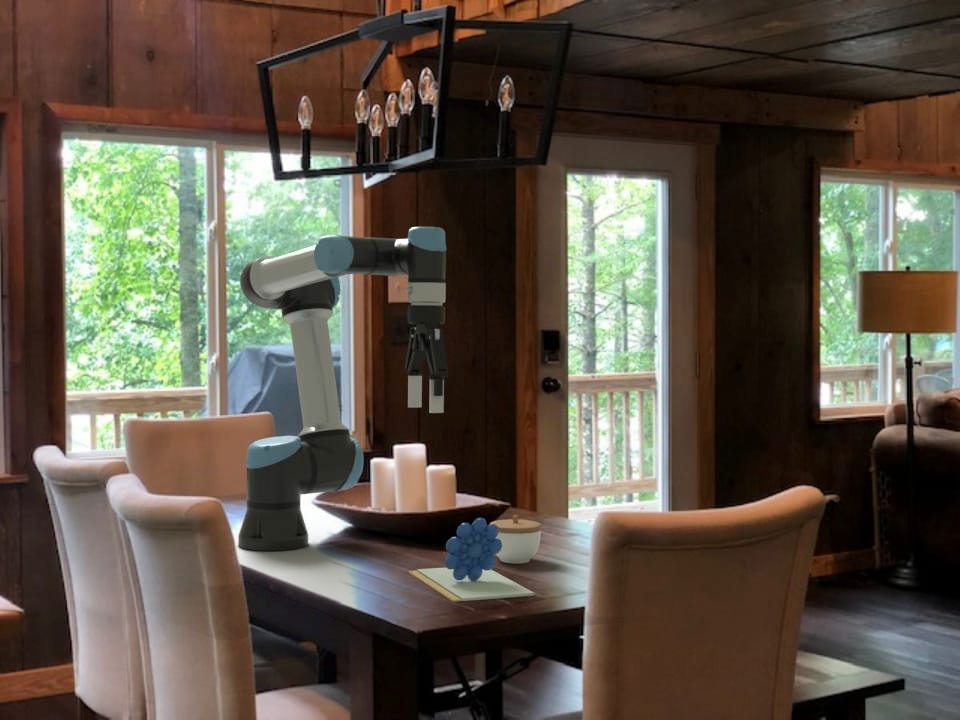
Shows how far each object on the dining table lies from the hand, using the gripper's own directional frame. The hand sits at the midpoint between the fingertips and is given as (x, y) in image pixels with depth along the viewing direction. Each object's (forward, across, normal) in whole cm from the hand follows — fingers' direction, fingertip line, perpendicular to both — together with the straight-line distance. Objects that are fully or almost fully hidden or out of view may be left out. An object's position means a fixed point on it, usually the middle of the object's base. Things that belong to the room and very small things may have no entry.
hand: (425, 410), depth 251 cm
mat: (+32, +18, +4) cm, 36 cm away
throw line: (+32, +18, -4) cm, 36 cm away
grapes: (+31, +17, +4) cm, 36 cm away
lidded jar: (+32, 0, +20) cm, 38 cm away
